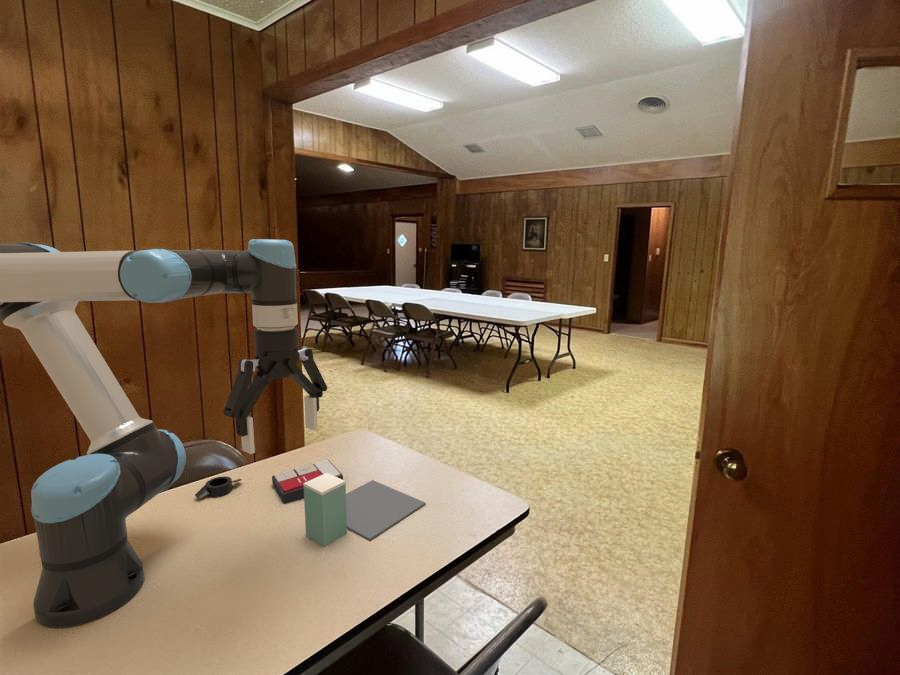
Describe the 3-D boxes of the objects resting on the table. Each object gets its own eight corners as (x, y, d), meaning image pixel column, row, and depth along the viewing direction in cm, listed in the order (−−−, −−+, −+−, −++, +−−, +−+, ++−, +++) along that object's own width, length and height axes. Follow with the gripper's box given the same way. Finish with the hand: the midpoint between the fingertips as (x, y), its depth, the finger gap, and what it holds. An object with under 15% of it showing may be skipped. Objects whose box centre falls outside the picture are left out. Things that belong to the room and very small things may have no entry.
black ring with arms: (200, 488, 118) (199, 477, 117) (243, 482, 121) (242, 472, 120) (193, 503, 110) (192, 492, 110) (239, 497, 114) (239, 486, 113)
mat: (315, 511, 107) (315, 509, 107) (372, 481, 121) (372, 480, 121) (370, 541, 97) (370, 539, 97) (425, 504, 111) (425, 502, 111)
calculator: (270, 473, 118) (328, 456, 127) (272, 488, 119) (329, 471, 128) (282, 491, 110) (343, 472, 118) (284, 508, 110) (344, 487, 119)
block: (306, 535, 98) (303, 483, 96) (328, 523, 103) (326, 472, 101) (324, 546, 95) (321, 492, 92) (347, 533, 99) (345, 481, 97)
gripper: (219, 340, 71) (229, 469, 75) (343, 321, 91) (346, 424, 95) (194, 334, 75) (204, 457, 79) (318, 317, 95) (321, 416, 99)
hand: (282, 439), depth 87 cm, fingers open, 13 cm apart
